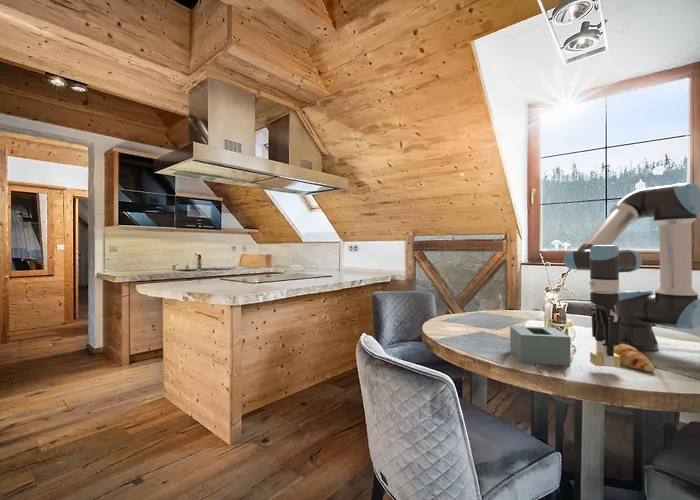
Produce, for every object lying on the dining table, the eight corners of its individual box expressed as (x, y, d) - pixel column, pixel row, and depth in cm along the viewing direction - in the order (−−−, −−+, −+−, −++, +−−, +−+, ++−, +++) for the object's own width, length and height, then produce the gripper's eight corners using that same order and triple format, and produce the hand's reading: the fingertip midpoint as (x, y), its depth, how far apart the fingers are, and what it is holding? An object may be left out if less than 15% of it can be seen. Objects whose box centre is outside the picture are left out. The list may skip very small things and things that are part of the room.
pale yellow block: (614, 363, 111) (614, 352, 111) (620, 367, 108) (620, 356, 108) (590, 362, 113) (590, 351, 113) (595, 365, 109) (595, 355, 109)
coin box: (554, 353, 130) (554, 327, 130) (570, 365, 117) (570, 337, 116) (510, 350, 133) (510, 325, 133) (520, 362, 120) (520, 334, 120)
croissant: (662, 385, 109) (673, 363, 109) (636, 371, 108) (647, 349, 108) (608, 361, 130) (618, 343, 130) (586, 349, 129) (596, 331, 129)
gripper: (579, 288, 119) (580, 354, 119) (605, 295, 102) (606, 371, 103) (603, 288, 117) (604, 355, 118) (633, 295, 101) (634, 373, 101)
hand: (605, 362), depth 110 cm, fingers closed on pale yellow block, 3 cm apart
